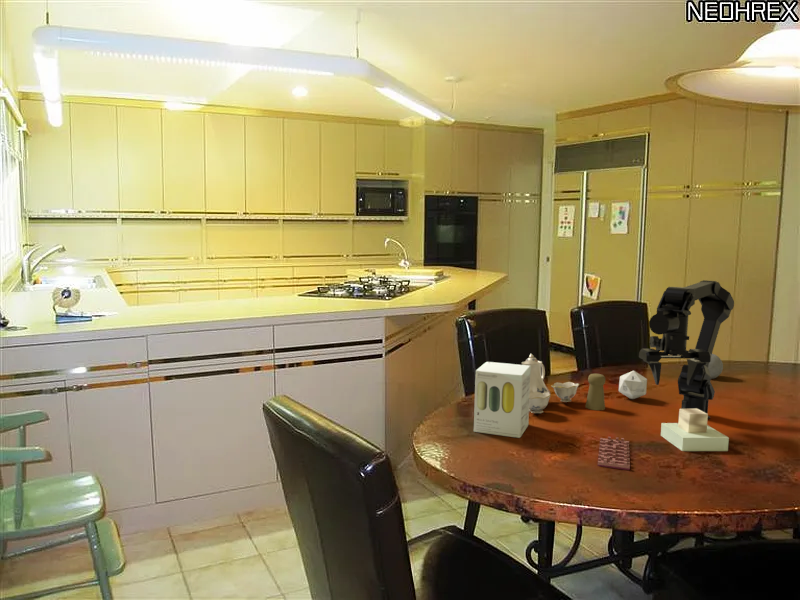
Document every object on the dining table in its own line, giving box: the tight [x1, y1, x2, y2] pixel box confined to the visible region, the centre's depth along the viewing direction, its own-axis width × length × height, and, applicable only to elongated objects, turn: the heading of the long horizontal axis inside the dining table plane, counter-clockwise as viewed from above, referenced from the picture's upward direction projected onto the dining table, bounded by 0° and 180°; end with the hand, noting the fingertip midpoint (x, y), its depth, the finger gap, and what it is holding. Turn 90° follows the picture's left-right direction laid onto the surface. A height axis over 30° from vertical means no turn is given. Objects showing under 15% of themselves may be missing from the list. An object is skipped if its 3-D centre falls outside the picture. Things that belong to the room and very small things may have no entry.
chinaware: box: [521, 353, 580, 414], centre depth 198 cm, size 28×17×17 cm, turn 142°
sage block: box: [660, 422, 730, 452], centre depth 166 cm, size 12×12×4 cm
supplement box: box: [473, 361, 531, 439], centre depth 175 cm, size 13×13×18 cm
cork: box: [584, 373, 606, 411], centre depth 197 cm, size 6×6×11 cm
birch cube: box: [677, 408, 709, 433], centre depth 166 cm, size 5×5×5 cm
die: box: [618, 370, 648, 400], centre depth 208 cm, size 8×9×10 cm
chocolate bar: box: [597, 436, 631, 471], centre depth 158 cm, size 7×19×2 cm, turn 161°
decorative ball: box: [708, 353, 724, 380], centre depth 239 cm, size 10×10×10 cm
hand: (672, 384), depth 180 cm, fingers open, 9 cm apart
